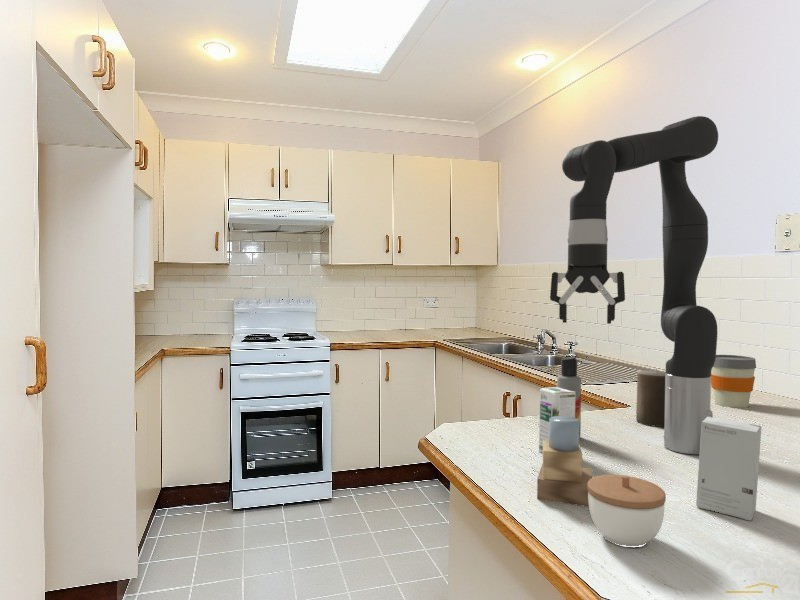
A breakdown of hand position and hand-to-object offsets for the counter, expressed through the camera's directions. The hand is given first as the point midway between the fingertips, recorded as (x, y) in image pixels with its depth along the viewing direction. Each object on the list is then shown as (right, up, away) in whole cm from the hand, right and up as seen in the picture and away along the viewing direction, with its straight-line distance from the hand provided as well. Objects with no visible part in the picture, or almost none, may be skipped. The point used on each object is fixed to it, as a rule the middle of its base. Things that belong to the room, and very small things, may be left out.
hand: (586, 322), depth 107 cm
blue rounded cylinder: (-8, -22, -12) cm, 27 cm away
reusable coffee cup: (+67, -29, +59) cm, 93 cm away
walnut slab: (-8, -31, -12) cm, 34 cm away
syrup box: (-3, -30, +11) cm, 32 cm away
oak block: (-9, -27, -12) cm, 31 cm away
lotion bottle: (+4, -30, +23) cm, 38 cm away
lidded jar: (-4, -31, -28) cm, 42 cm away
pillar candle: (+32, -29, +37) cm, 57 cm away
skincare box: (+17, -31, -18) cm, 40 cm away
